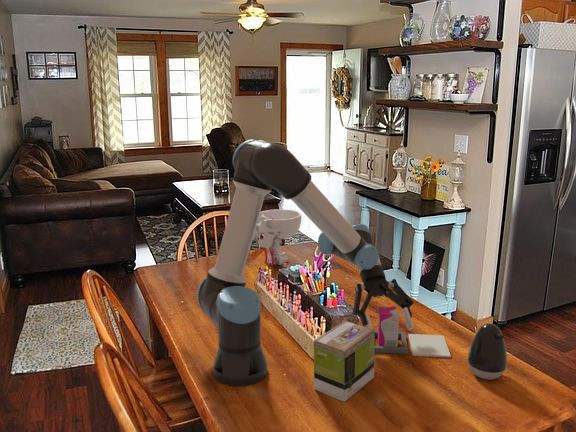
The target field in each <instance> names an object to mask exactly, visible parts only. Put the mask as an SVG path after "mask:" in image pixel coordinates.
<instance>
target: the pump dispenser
mask: <svg viewBox="0 0 576 432" xmlns="http://www.w3.org/2000/svg"><path fill="white" fill-rule="evenodd" d="M504 338H505V335H503V333H502V331H501V329H500V328H499V326H498V325H496V324H494V323H491V322H489V323H484V324H482V325H481V326H480V327H479V328H478V329H477V331H476V333H475V335H474V336H473V339H472V340H471V343H470V346H469V349H468V353H467V363H468V366H469V368H470V370H471V372H472V374H474V375H475V376H477V377H478V378H481V379H483V380H488V381H489V380H496V379H498V378H500V377H501V376H502V375H503V374H504V373H505V370H506V369H507V367H508V354H507V347H506V342H505V339H504Z"/></svg>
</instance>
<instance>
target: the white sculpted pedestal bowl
mask: <svg viewBox="0 0 576 432" xmlns="http://www.w3.org/2000/svg"><path fill="white" fill-rule="evenodd" d="M302 218H303V217H302V212H300V211H298V210H292V209H286V208H285V209H284V208H283V209H280V208H279V209H276V208H275V209H268V210H262V211H260V215H259V218H258V222H257V225H256V229H255V233H254V236H253V241H255V243H257V244H258V246H259V247H260V248H263V250H264V251H263V252H264V257H265V258H264V259H265V260H264V264H266V263H268V264H271V265H270V267H271V268H273V267H274V265H275V267H277V265H279V266H282V267H284V268H286V267H287V263H286V262H284V261H283V260H286V261H287V260H288V259H289V257H288V256H287V255H286V252H285V251H283V252H281V251H282V249H283V248H282V244H283V242H282V240H287V239H290V238H291V237H293V236H294V235H297V233H298V232H299V229H300V227H301V225H302V224H301V223H302ZM267 250H268V252H267ZM284 255H285V256H284Z"/></svg>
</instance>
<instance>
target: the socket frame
mask: <svg viewBox="0 0 576 432" xmlns="http://www.w3.org/2000/svg"><path fill="white" fill-rule="evenodd" d="M375 338H378V330H375ZM398 339H400V341H401V345H402V346H401V347H400V346H398V347H386V346H379V345H375V347H374V353H382V354H399V355H408V354H409V347H408V343H407V338H406V333H405V331H398Z"/></svg>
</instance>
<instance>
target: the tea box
mask: <svg viewBox="0 0 576 432" xmlns="http://www.w3.org/2000/svg"><path fill="white" fill-rule="evenodd" d="M375 331H376V330H375V329H374V328H373V329H370V328H366V326H363V325H360V324H356V323H353V322H351V321H350V322H349V321H347V320H344V321H342V322H341V323H339V324H337V325H336V326H334V327H332V328H331V329H330V330H328V331H326V332H325V333H323V334H321V335H320V336H319V337H317V338H316V339H314V340H313V375H314V376H313V388H314V390H316V391H318V392H321V393H322V394H325V395H326V396H329V397H331V398H333V399H335V400H338V401H341V402H344V403H345V402H346V401H347V400H348V399H350V398H351V397H352V396H353V395H355V394H356V393H357V392H358V391H360V390H361V389H362V388H363V387H365V386H366V385H367V384H368V383H369V382H370V381H372V380H373V379H374V378H375V352H374V347H375V346H376V345H375V344H376V343H375V342H376V341H375V338H376V337H375Z"/></svg>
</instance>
